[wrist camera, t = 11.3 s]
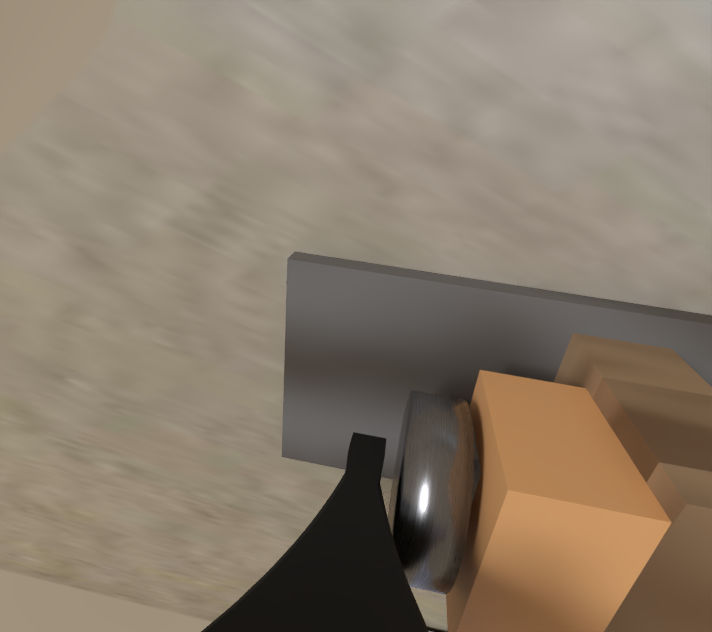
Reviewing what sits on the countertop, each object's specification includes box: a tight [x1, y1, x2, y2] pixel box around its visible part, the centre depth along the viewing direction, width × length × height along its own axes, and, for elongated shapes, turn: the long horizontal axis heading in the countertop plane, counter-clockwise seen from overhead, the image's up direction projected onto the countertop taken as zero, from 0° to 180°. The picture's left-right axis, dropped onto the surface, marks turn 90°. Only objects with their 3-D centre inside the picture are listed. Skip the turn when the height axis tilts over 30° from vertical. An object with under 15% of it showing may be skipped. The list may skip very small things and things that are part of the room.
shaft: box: [388, 390, 481, 594], centre depth 11 cm, size 5×12×5 cm, turn 84°
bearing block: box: [282, 252, 712, 632], centre depth 12 cm, size 9×18×7 cm, turn 84°
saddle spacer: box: [446, 370, 672, 632], centre depth 11 cm, size 6×3×4 cm, turn 174°
